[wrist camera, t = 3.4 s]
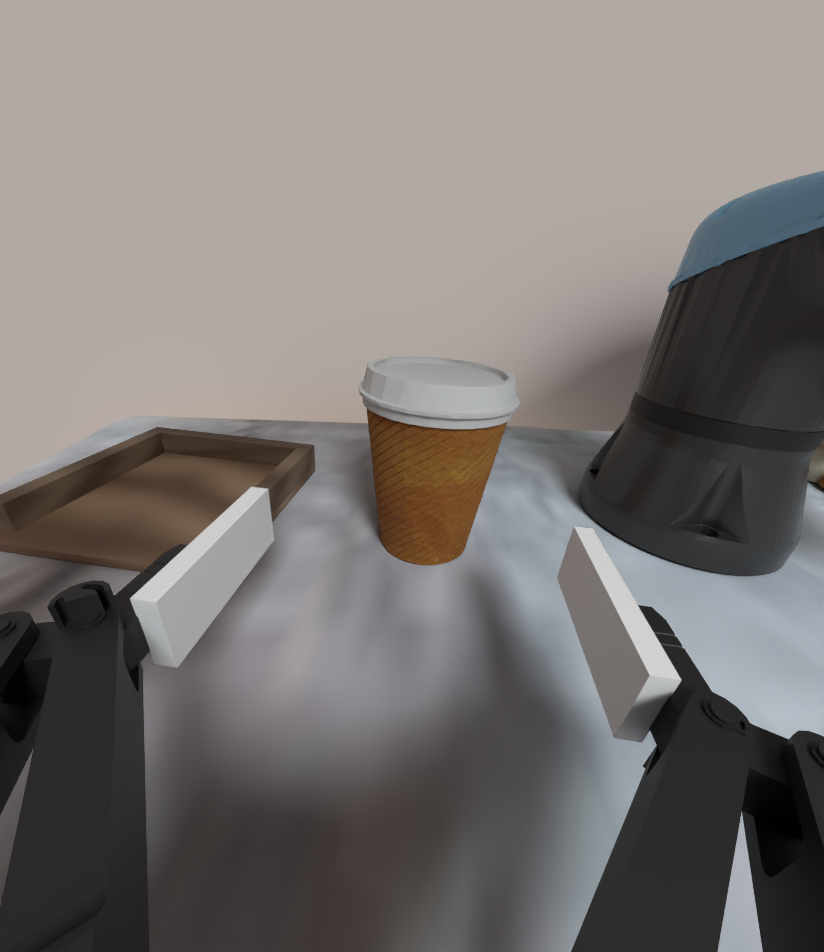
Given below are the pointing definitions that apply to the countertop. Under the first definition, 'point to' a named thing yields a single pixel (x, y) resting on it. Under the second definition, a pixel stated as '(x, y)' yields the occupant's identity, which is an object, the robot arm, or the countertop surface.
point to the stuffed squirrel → (817, 466)
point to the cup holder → (146, 496)
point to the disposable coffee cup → (433, 449)
